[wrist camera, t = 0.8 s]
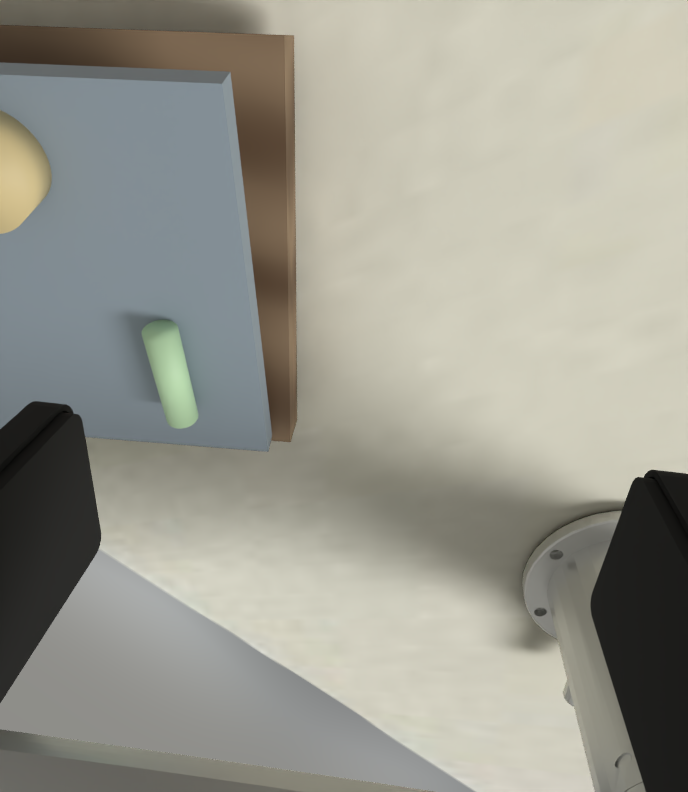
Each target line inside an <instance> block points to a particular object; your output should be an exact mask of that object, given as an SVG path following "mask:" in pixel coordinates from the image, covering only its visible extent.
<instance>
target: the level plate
mask: <svg viewBox="0 0 688 792" xmlns="http://www.w3.org/2000/svg"><path fill="white" fill-rule="evenodd" d="M33 401H40V402H49V403H58V404H67V405H68V406H70V407H71V409H72V410H73V413H74V414H78V415H80V417H81V418H82V422H83V427H84V433H85V437H91V438H104V439H116V440H129V441H141V442H154V443H167V444H179V445H192V446H204V447H217V448H229V449H242V450H254V451H267V452H268V451H269V446H270V442H271V438H272V429H271V421H270V412H269V403H268V395H267V386H266V377H265V369H264V360H263V351H262V342H261V334H260V325H259V316H258V308H257V299H256V290H255V282H254V273H253V264H252V256H251V247H250V238H249V229H248V221H247V212H246V203H245V195H244V186H243V177H242V169H241V160H240V151H239V143H238V134H237V125H236V116H235V108H234V99H233V90H232V82H231V73H230V72H226V71H201V70H176V69H151V68H126V67H100V66H75V65H50V64H25V63H0V429H1V428H2V427H3V426H4V425H6V424H7V423H8V422H9V421H10V420H11V419H12V418H13V417H14V416H16V415H17V414H18V413H19V412H20V411H21V410H22V409H23V408H24V407H26V406H27V405H28V404H29V403H31V402H33Z"/></svg>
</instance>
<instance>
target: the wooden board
mask: <svg viewBox="0 0 688 792" xmlns="http://www.w3.org/2000/svg"><path fill="white" fill-rule="evenodd" d="M0 63H25V64H50V65H75V66H100V67H126V68H151V69H176V70H201V71H226V72H230V73H231V82H232V90H233V99H234V108H235V116H236V125H237V134H238V143H239V151H240V160H241V169H242V177H243V186H244V195H245V203H246V212H247V221H248V229H249V238H250V247H251V256H252V264H253V273H254V282H255V290H256V299H257V308H258V316H259V325H260V334H261V342H262V351H263V360H264V369H265V377H266V386H267V395H268V403H269V412H270V421H271V429H272V438H271V441H284V442H291V439H292V435H293V432H294V428H295V425H296V422H297V344H296V224H295V103H294V36H292V35H265V34H237V33H209V32H181V31H153V30H125V29H97V28H69V27H41V26H13V25H0Z"/></svg>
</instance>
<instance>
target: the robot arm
mask: <svg viewBox="0 0 688 792" xmlns="http://www.w3.org/2000/svg"><path fill="white" fill-rule="evenodd" d="M100 541H101V530H100V524H99V518H98V512H97V506H96V499H95V493H94V487H93V481H92V475H91V469H90V463H89V457H88V451H87V445H86V439H85V433H84V427H83V422H82V418H81V417H80V415H78V414H74V413H73V410H72V409H71V407H70V406H68V405H67V404H58V403H49V402H40V401H33V402H31V403H29V404H28V405H27V406H26V407H24V408H23V409H22V410H21V411H20V412H19V413H18V414H17V415H16V416H14V417H13V418H12V419H11V420H10V421H9V422H8V423H7V424H6V425H4V426H3V427H2V428H1V429H0V703H1V701H2V700H3V698H4V697H5V695H6V693H7V691H8V690H9V689H10V687H11V686H12V684H13V683H14V681H15V679H16V678H17V676H18V675H19V673H20V672H21V670H22V669H23V667H24V665H25V664H26V662H27V661H28V659H29V658H30V656H31V655H32V653H33V651H34V650H35V648H36V647H37V645H38V643H39V642H40V641H41V639H42V637H43V636H44V634H45V633H46V631H47V629H48V628H49V627H50V625H51V623H52V622H53V620H54V619H55V617H56V616H57V614H58V613H59V611H60V609H61V608H62V606H63V605H64V603H65V602H66V600H67V599H68V597H69V595H70V594H71V592H72V591H73V589H74V587H75V586H76V585H77V583H78V581H79V580H80V578H81V577H82V575H83V574H84V572H85V571H86V569H87V568H88V566H89V564H90V563H91V561H92V560H93V558H94V556H95V555H96V553H97V551H98V549H99V546H100ZM522 588H523V595H524V600H525V603H526V607H527V610H528V612H529V614H530V615H531V617H532V619H533V620H534V622H535V623H536V624H537V625H538V626H539V627H540V628H541V629H542V630H543V631H545V632H546V633H548V634H549V635H551V636H552V637H554V638H555V639H557V640H558V643H559V647H560V652H561V656H562V660H563V664H564V668H565V672H566V676H567V682H566V685H565V688H564V691H563V694H564V698H565V699H566V701H567V702H568V703H569V704H570V705H572V706H574V709H575V713H576V717H577V721H578V725H579V729H580V733H581V737H582V741H583V745H584V749H585V753H586V758H587V762H588V766H589V770H590V774H591V778H592V782H593V786H594V790H595V792H688V474H685V473H676V472H667V471H658V470H650V471H648V472H647V473H646V474H645V476H644V478H641V477H637V478H635V480H634V481H633V483H632V485H631V487H630V490H629V493H628V496H627V498H626V501H625V504H624V507H623V509H622V511H612V512H606V513H600V514H595V515H592V516H588V517H585V518H582V519H579V520H576V521H574V522H572V523H570V524H568V525H566V526H564V527H562V528H560V529H559V530H557V531H556V532H554V533H553V534H551V535H550V536H549V537H547V538H546V539H545V540H544V541H543V542H542V543H541V544H540V545H539V546H538V547H537V548H536V549H535V551H534V552H533V554H532V555H531V557H530V558H529V560H528V562H527V564H526V567H525V569H524V572H523V580H522ZM0 792H434V791H427V790H421V789H414V788H407V787H400V786H394V785H387V784H380V783H373V782H366V781H360V780H353V779H346V778H339V777H332V776H325V775H318V774H311V773H304V772H298V771H291V770H284V769H277V768H270V767H263V766H256V765H249V764H242V763H235V762H228V761H221V760H214V759H208V758H201V757H194V756H187V755H180V754H173V753H166V752H158V751H151V750H144V749H137V748H130V747H122V746H115V745H107V744H100V743H93V742H86V741H79V740H72V739H65V738H57V737H50V736H43V735H36V734H29V733H22V732H14V731H7V730H0Z"/></svg>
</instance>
